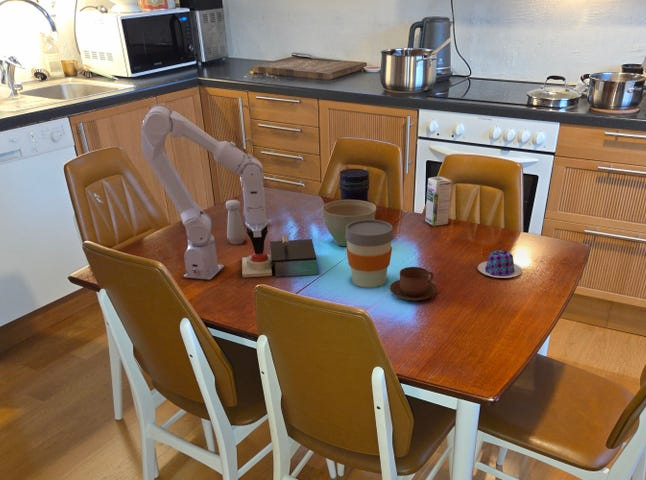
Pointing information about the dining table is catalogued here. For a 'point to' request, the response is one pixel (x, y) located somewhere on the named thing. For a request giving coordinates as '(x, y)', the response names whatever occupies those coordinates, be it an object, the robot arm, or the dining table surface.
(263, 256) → the button
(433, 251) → the dining table surface
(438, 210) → the syrup box
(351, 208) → the planter bowl
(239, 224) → the salt shaker
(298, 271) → the dark green box
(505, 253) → the pudding
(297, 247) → the lid
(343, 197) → the storage jar
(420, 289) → the cup and saucer
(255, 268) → the button base
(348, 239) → the reusable coffee cup
